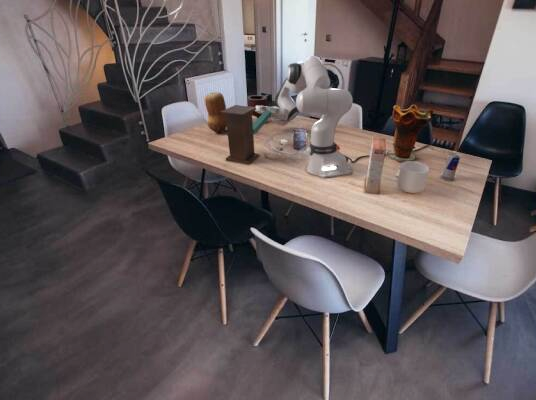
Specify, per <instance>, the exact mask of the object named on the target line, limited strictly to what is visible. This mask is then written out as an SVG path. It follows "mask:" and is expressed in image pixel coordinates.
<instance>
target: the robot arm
mask: <svg viewBox="0 0 536 400" xmlns="http://www.w3.org/2000/svg"><path fill="white" fill-rule="evenodd" d="M330 86H331V79H330V77H329V71H328V69H327V67H326V66H325V63H324V62H323V61H322V60H321V58H319V57H318V56H315V55H312V56H309V57H307V58H306V59H305V61H302V60H301V61H299V62H292V63H290V64H288V66H287V69H286V78H285V79H284V81H283V82H282V84H281V87H280V89H279V90H278V92H277V93H276V95H275V96H274V97H275V98H274V102H275V103H276V105H275V106H268V107H266V106H263V105H261V106H258V105H256V110H255V111H256V112H257V113H259V114H263V113H264V112H265V111H271V117H270V118H269V120H271V121H272V122H274V123H275V124H277V125H278V126H282V127H283V126H284V127H285V126H287V125H288V124H289V123H290V122H291V121H292V120H294V119H296V118H297V116H298V115H299V113H300V114H303V115H308V116H319V115H320V116H321V115H322V117H321V118H320V119H319V120H317V121H316V122H314V124H313V125H312V126H311V128H310V141H309V147H308V153H309V157H308V162H307V165H306V171H307V172H308V173H309V174H311V175H313V176H318V177H321V178H322V179H323V178H324V179H326V178H333V177H339V176H346V175H351V173H352V167H351V166H350V165H349V164H348V163H349V161H350V163H356V162H357V161H358V160H360V159H361V158H368V157H369V158H370V154H369V155H361V156H359V157H357V158H356V159H355V160H352V158H350V157H349V156H347V155H345V154H343V153H342V152H340V150H341V146H340V145H338V144H337V142H335V133H336V129H337V125H338V124H339V122H340V120H341V119H342V118H343V117H344V115H346V114H347V113H348V112H350V110H351V109H352V107H353V103H354V102H353V101H354V100H353V99H354V98H353V96H352V94H351V92H350V91H349V90H346V89H343V88H330ZM290 92H291V93H294V94H297V96H296V98H295V100H294V99H293V98H292V96H291V95H290ZM430 145H432V146H435V144H434V143H432V142H430V143H428V144H426V145H424V146H422V147H420V148H416V149H413V150H412V152H411V153H414V152H418V151H420V150H423V149H425V148H427V147H429V146H430ZM393 154H394V153H393ZM390 155H392V154H390ZM385 156H387V154H385Z"/></svg>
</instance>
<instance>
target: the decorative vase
mask: <svg viewBox="0 0 536 400" xmlns="http://www.w3.org/2000/svg"><path fill="white" fill-rule="evenodd" d="M392 109H393V110H392V115H391V116H392V117H391V119H392V122H393V123H394V125H395V131H394V137H393V139H394V140H393V143H392V146H393V147H392V148H393V149H391V150H386V154H387V155H386V157H388V158H389V159H392V160H394V161H399V162H406V161H414V162H415V161H416V160H418V158H419V156H417V155H416V154H414V153H413V152H412V151H413V150H417V148H416V146H415V145H416V142H417V140H418V137H419V133H420V131H421V130H423V128H424V127H425V128H426V127H427V126H428V125H429V123H430V122H431V120H432V114H433V113H434V110H433V109H427V110H426V111H425V112H422V111H420V110H419V109H418V106H417V105H416V104H411V105H410V106H409V107H408V108H406V109H402V108H401V106H399V105H393V107H392ZM393 153H394V154H393ZM390 154H392V155H390Z"/></svg>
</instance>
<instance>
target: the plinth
mask: <svg viewBox="0 0 536 400" xmlns="http://www.w3.org/2000/svg"><path fill="white" fill-rule="evenodd" d="M254 110H256V107H248V105H247V106H246V105H239V104H234V105H232V106H230V107H226V109H225V110H223V111H220V113H221V114H226V123H227V128H226V131H227V140H228V150H229V155H228V156H227V157H225V160H226V161H227V162H231V163H237V164H242V165H249V164H251V163H252V162H253V161H255V160H256V159H257V158H259V155H260V154H259V153H257V152H255V142H254V141H255V140H254V134H253V122H252V119H253V115H252V111H254Z"/></svg>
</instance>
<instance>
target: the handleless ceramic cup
mask: <svg viewBox="0 0 536 400" xmlns="http://www.w3.org/2000/svg"><path fill="white" fill-rule="evenodd" d="M429 170H430V167H429V166H428V165H426V164H425V163H423V162H419V161H415V160H414V161H406V162H404V161H402V163H400V167H399V172H398V176H397V180H396V181H397V182H396V184H397V187H398V189H400V190H401V191H403V192H405V193H408V194H418V193H420V192H422V191H423V190H424V189H425V186H426V183H427V179H428V175H429V172H430V171H429Z"/></svg>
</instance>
